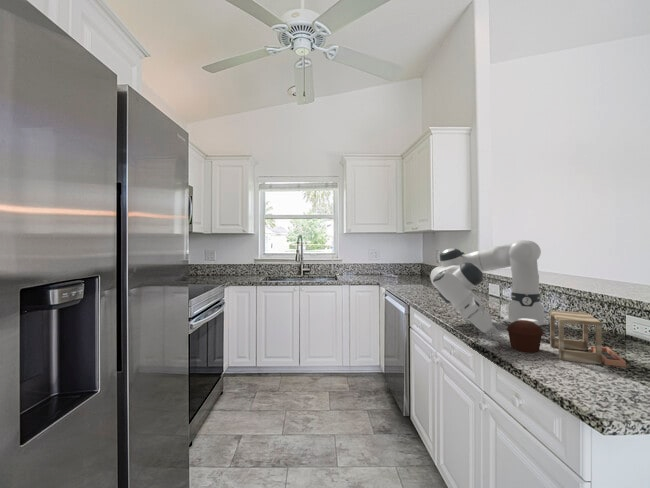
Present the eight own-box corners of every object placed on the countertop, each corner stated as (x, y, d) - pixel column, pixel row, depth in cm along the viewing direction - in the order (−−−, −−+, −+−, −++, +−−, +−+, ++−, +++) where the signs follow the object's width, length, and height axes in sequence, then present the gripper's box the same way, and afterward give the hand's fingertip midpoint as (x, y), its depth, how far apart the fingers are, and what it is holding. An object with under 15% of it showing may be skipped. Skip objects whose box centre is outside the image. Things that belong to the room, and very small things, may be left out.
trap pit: (590, 350, 122) (590, 345, 122) (608, 351, 120) (608, 347, 120) (605, 364, 107) (605, 359, 107) (625, 366, 105) (625, 361, 105)
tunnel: (550, 345, 127) (550, 310, 127) (586, 349, 123) (586, 312, 123) (559, 359, 112) (559, 319, 112) (601, 364, 108) (601, 322, 108)
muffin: (530, 344, 129) (530, 317, 129) (551, 353, 118) (551, 324, 118) (499, 344, 129) (499, 318, 129) (518, 354, 118) (518, 325, 118)
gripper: (464, 306, 141) (491, 333, 137) (461, 316, 122) (492, 347, 118) (476, 296, 139) (503, 323, 135) (475, 305, 120) (507, 336, 116)
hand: (498, 334), depth 126 cm, fingers closed
